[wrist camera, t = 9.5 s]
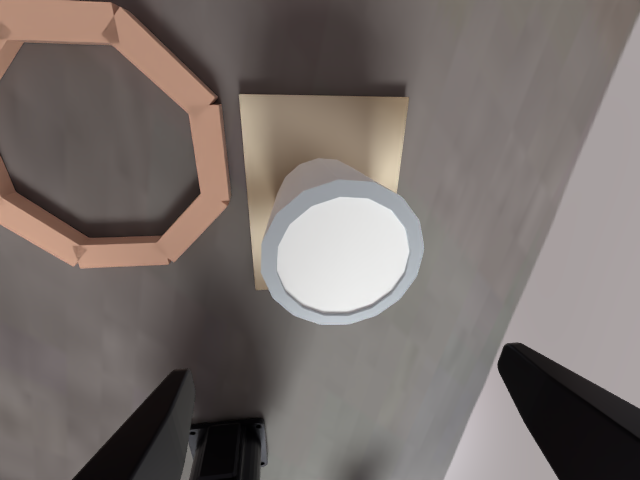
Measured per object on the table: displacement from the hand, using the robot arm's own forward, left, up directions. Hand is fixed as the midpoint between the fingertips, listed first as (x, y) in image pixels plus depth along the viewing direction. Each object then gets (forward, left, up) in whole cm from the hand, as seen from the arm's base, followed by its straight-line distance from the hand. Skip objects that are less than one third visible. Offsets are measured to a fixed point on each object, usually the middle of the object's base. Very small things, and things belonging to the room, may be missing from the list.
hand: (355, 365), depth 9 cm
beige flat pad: (+1, -1, -12) cm, 12 cm away
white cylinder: (+1, -1, -12) cm, 12 cm away
